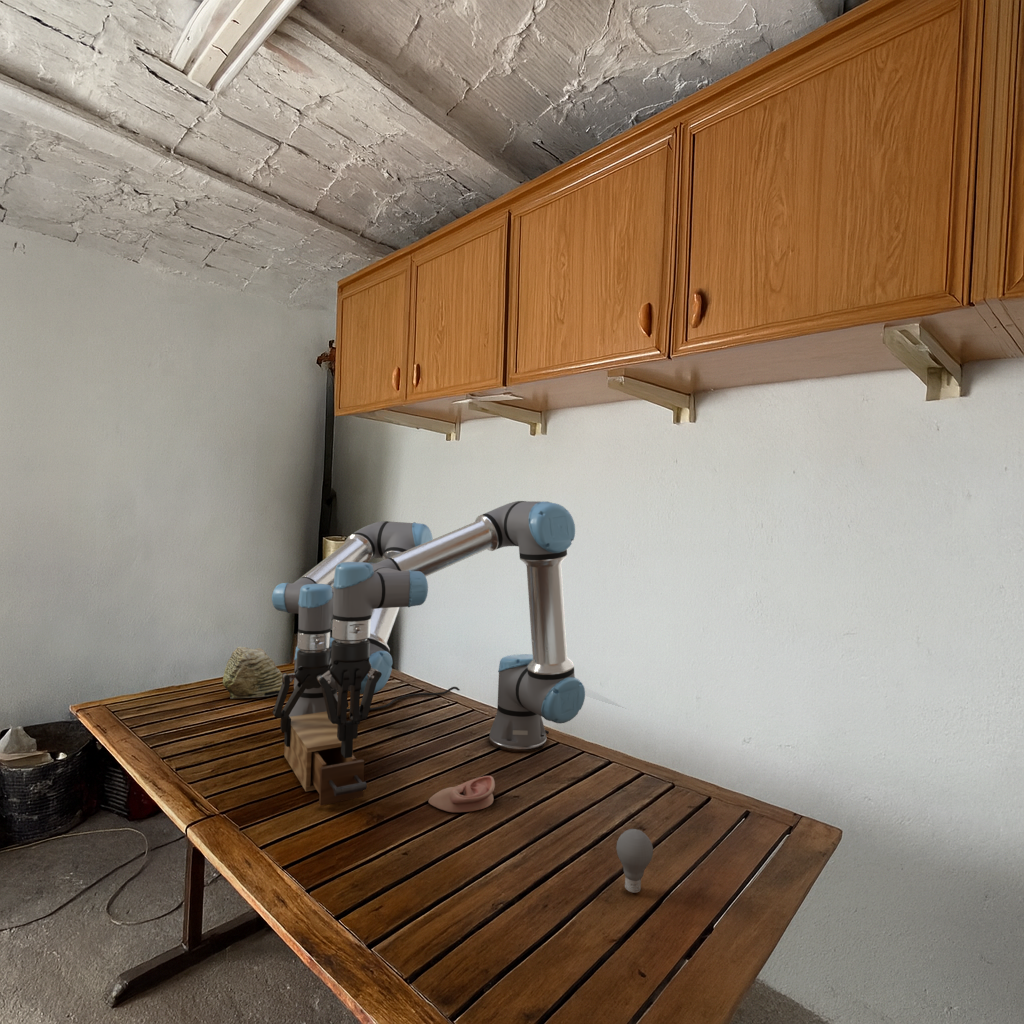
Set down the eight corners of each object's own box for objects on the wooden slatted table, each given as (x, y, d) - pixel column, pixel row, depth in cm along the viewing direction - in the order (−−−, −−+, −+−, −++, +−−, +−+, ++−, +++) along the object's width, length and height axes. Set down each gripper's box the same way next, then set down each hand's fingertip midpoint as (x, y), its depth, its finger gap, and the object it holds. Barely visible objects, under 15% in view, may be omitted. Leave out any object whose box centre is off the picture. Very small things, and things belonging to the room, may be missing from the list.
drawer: (372, 808, 128) (373, 771, 127) (328, 818, 123) (329, 780, 123) (335, 761, 149) (336, 729, 149) (297, 768, 145) (298, 735, 145)
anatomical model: (423, 789, 130) (441, 766, 141) (423, 808, 130) (440, 784, 141) (486, 798, 127) (499, 774, 139) (485, 817, 128) (498, 792, 139)
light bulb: (610, 879, 108) (613, 822, 108) (644, 879, 109) (647, 822, 109) (619, 902, 102) (622, 840, 102) (655, 901, 103) (658, 840, 103)
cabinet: (351, 782, 141) (353, 740, 141) (305, 791, 136) (307, 748, 135) (325, 748, 159) (326, 711, 159) (284, 755, 154) (285, 717, 153)
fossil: (218, 695, 195) (220, 647, 195) (278, 685, 208) (279, 640, 207) (228, 703, 189) (230, 653, 188) (289, 692, 201) (290, 645, 201)
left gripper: (267, 657, 143) (263, 754, 143) (364, 648, 155) (361, 738, 155) (260, 649, 149) (257, 743, 150) (355, 642, 161) (351, 728, 162)
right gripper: (323, 646, 121) (318, 768, 122) (388, 640, 128) (383, 756, 128) (313, 637, 127) (309, 754, 128) (375, 633, 134) (371, 743, 135)
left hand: (310, 741), depth 152 cm, fingers closed on cabinet, 10 cm apart
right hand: (346, 755), depth 128 cm, fingers closed
